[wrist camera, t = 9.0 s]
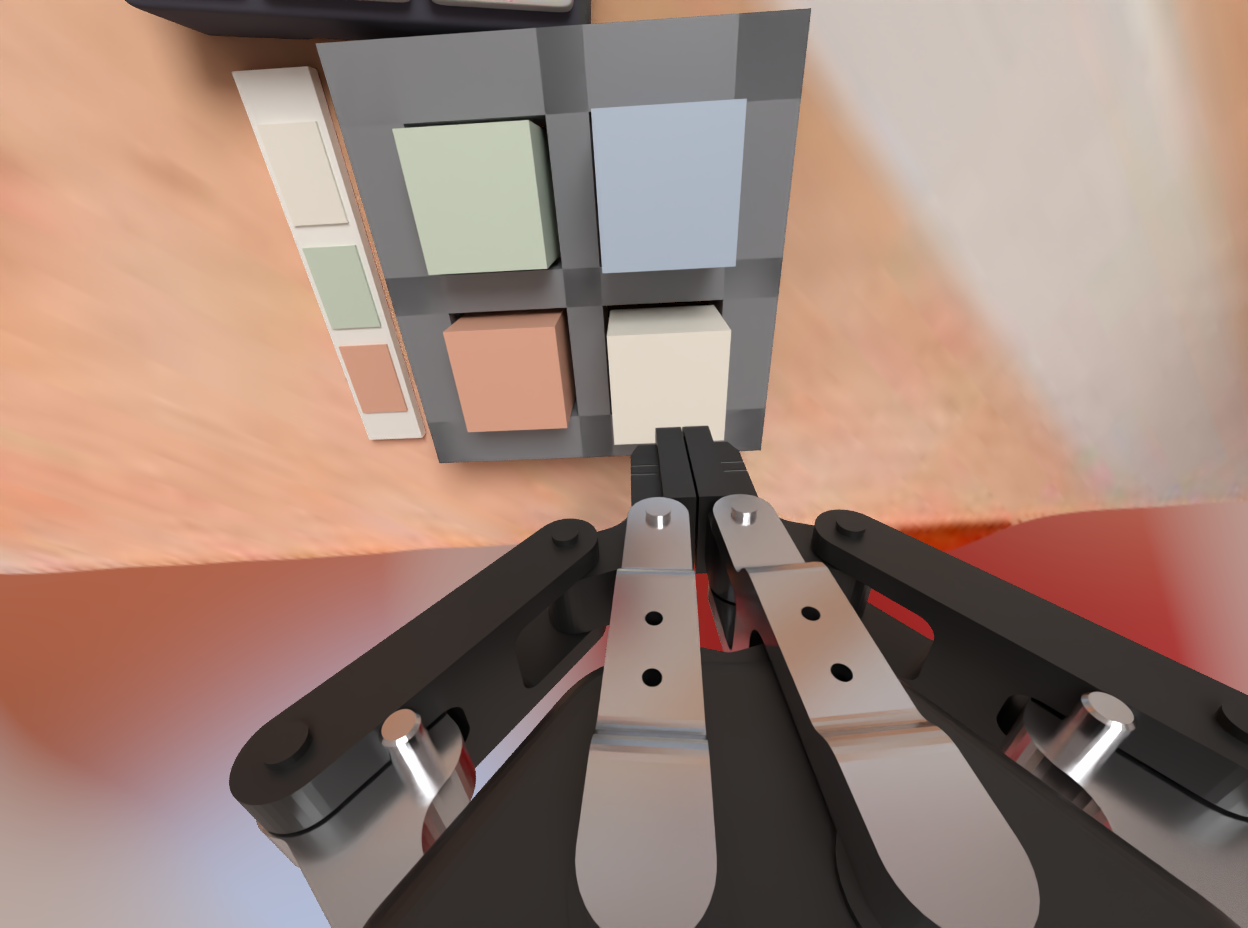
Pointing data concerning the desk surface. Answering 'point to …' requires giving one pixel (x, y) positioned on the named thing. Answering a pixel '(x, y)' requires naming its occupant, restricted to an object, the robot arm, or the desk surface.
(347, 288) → the strip
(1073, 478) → the desk surface
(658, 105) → the slate key
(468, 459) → the keypad base
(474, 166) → the sage key
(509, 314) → the terracotta key
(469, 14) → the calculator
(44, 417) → the desk surface
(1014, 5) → the desk surface
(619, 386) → the cream key
